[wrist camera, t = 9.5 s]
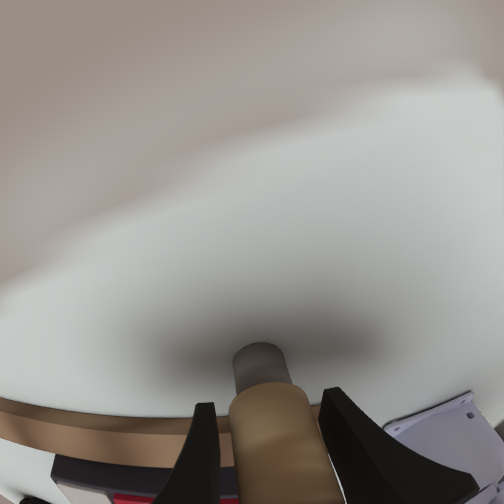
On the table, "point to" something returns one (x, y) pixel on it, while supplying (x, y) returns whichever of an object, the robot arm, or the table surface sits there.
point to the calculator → (122, 482)
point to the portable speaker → (33, 501)
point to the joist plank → (107, 435)
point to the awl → (276, 435)
